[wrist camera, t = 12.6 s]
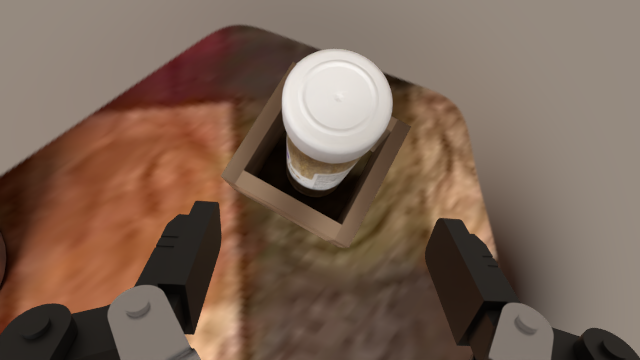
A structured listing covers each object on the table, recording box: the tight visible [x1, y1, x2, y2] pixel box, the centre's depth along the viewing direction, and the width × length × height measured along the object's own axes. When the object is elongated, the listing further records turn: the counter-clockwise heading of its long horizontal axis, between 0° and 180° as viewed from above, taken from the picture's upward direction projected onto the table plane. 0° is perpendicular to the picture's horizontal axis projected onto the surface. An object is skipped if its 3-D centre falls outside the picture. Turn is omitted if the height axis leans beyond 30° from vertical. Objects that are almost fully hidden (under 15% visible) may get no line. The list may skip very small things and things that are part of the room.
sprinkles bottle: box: [282, 49, 393, 197], centre depth 20 cm, size 5×5×13 cm
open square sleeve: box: [221, 62, 411, 248], centre depth 24 cm, size 9×9×5 cm
